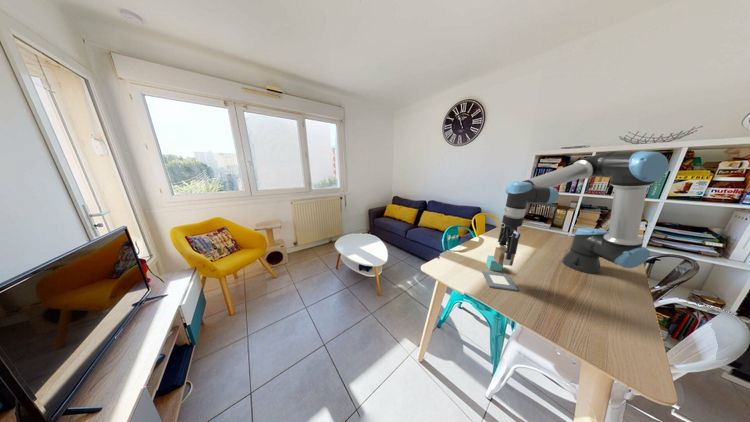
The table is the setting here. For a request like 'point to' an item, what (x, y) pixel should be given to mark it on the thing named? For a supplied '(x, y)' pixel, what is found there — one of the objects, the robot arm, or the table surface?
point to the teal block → (493, 264)
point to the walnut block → (502, 255)
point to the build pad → (499, 281)
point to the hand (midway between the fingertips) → (503, 260)
